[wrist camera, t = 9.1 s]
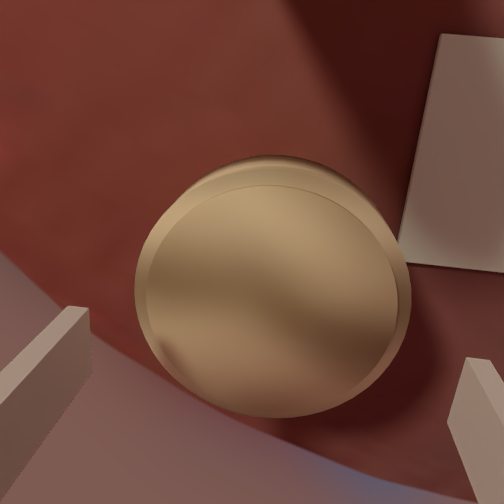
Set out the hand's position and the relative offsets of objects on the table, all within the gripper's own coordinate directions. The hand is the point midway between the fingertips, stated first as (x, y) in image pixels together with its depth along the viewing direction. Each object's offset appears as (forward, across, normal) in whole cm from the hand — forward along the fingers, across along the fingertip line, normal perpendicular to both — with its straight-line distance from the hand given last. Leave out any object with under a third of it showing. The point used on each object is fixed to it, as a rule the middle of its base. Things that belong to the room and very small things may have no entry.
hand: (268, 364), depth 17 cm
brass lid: (+7, 0, 0) cm, 7 cm away
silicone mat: (+13, -12, -6) cm, 19 cm away
